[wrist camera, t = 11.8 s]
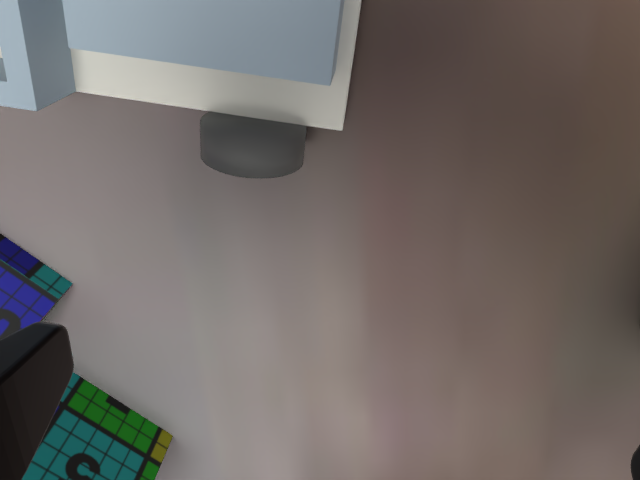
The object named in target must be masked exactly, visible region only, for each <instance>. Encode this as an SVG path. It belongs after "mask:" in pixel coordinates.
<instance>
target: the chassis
mask: <svg viewBox="0 0 640 480" xmlns="http://www.w3.org/2000/svg"><path fill="white" fill-rule="evenodd" d="M361 2H362V0H0V106H6V107H12V108H19V109H26V110H32V111H38V110H40V109H42V108H44V107H46V106H48V105H50V104H52V103H54V102H56V101H58V100H60V99H62V98H64V97H66V96H68V95H70V94H72V93H74V92H83V93H90V94H96V95H103V96H110V97H117V98H123V99H130V100H137V101H144V102H150V103H157V104H164V105H171V106H177V107H184V108H191V109H198V110H204V111H211V112H208V113H207V114H205V115H204V116H203V117H202V118H201V120H200V139H201V159H202V160H203V162H204V163H205V164H206V165H208V166H209V167H211V168H213V169H215V170H217V171H219V172H222V173H225V174H229V175H233V176H238V177H245V178H274V177H281V176H285V175H288V174H291V173H293V172H295V171H297V170H298V169H300V167H301V166H302V164H303V159H304V149H305V140H306V130H307V129H306V126H312V127H319V128H326V129H332V130H339V131H342V129H343V125H344V120H345V113H346V106H347V99H348V92H349V85H350V78H351V71H352V64H353V57H354V51H355V44H356V37H357V30H358V23H359V16H360V9H361Z"/></svg>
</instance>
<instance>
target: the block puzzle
mask: <svg viewBox="0 0 640 480" xmlns="http://www.w3.org/2000/svg"><path fill="white" fill-rule="evenodd" d="M71 285H72V283H71V282H69V281H68V280H66V279H65V278H64V277H62V276H61V275H59V274H58V273H56V272H55V271H54V270H52V269H51V268H49V267H48V266H46V265H45V264H43V263H42V262H41V261H39V260H38V259H36V258H35V257H33V256H32V255H30V254H29V253H28V252H26V251H25V250H23V249H22V248H20V247H19V246H17V245H16V244H15V243H13V242H12V241H10V240H9V239H7V238H6V237H4V236H3V235H2V234H0V340H1V339H3V338H5V337H7V336H9V335H11V334H13V333H15V332H17V331H19V330H21V329H23V328H25V327H27V326H29V325H31V324H33V323H35V322H41V321H42V320H43V319H44V318H45V316H46V315H47V314H48V313H49V312H50V310H51V309H52V308H53V307H54V306H55V304H56V303H57V302H58V301H59V300H60V298H61V297H62V296H63V295H64V294H65V292H66V291H67V290H68V289H69V288H70V286H71ZM172 437H173V436H172V435H171V434H169V433H168V432H166V431H164V430H163V429H161V428H160V427H158V426H157V425H155V424H153V423H152V422H150V421H149V420H147V419H146V418H144V417H142V416H141V415H139V414H138V413H136V412H135V411H133V410H131V409H130V408H128V407H127V406H125V405H124V404H122V403H121V402H119V401H117V400H116V399H114V398H113V397H111V396H110V395H108V394H106V393H105V392H103V391H102V390H100V389H99V388H97V387H95V386H94V385H92V384H91V383H89V382H88V381H86V380H84V379H83V378H81V377H80V376H78V375H77V374H75V373H72V377H71V379H70V382H69V384H68V386H67V388H66V390H65V392H64V394H63V396H62V398H61V401H60V403H59V405H58V407H57V409H56V411H55V413H54V415H53V417H52V420H51V422H50V424H49V426H48V428H47V430H46V432H45V434H44V436H43V439H42V441H41V443H40V445H39V447H38V449H37V451H36V453H35V455H34V457H33V459H32V461H31V463H30V465H29V467H28V469H27V471H26V473H25V475H24V476H23V478H22V480H155V477H156V475H157V472H158V470H159V468H160V465H161V463H162V461H163V458H164V456H165V453H166V451H167V449H168V446H169V444H170V442H171V439H172Z"/></svg>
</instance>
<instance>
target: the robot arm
mask: <svg viewBox="0 0 640 480" xmlns="http://www.w3.org/2000/svg"><path fill="white" fill-rule="evenodd" d="M73 367H74V364H73V357H72V352H71V346H70V341H69V336H68V331H67V329H66V328H65V327H64V326H62V325H59V324H53V323H47V322H35V323H33V324H31V325H29V326H27V327H25V328H23V329H21V330H19V331H17V332H15V333H13V334H11V335H9V336H7V337H5V338H3V339H1V340H0V480H22V478H23V476H24V475H25V473H26V471H27V469H28V467H29V465H30V463H31V461H32V459H33V457H34V455H35V453H36V451H37V449H38V447H39V445H40V443H41V441H42V439H43V436H44V434H45V432H46V430H47V428H48V426H49V424H50V422H51V420H52V417H53V415H54V413H55V411H56V409H57V407H58V405H59V403H60V401H61V398H62V396H63V394H64V392H65V390H66V388H67V386H68V384H69V382H70V379H71V377H72V373H73ZM631 473H632V478H633V480H640V445H639V447H638V448H637V450H636V451H635V452H634V454H633V456H632V460H631Z"/></svg>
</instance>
